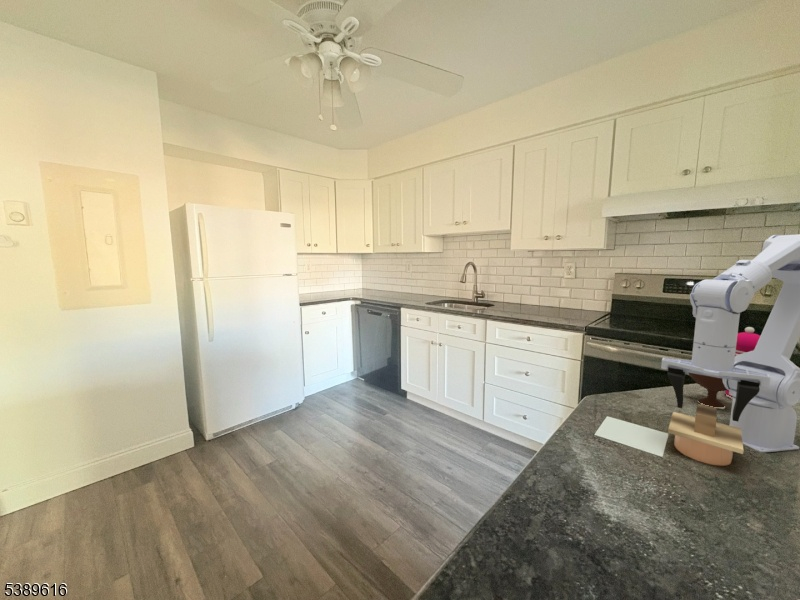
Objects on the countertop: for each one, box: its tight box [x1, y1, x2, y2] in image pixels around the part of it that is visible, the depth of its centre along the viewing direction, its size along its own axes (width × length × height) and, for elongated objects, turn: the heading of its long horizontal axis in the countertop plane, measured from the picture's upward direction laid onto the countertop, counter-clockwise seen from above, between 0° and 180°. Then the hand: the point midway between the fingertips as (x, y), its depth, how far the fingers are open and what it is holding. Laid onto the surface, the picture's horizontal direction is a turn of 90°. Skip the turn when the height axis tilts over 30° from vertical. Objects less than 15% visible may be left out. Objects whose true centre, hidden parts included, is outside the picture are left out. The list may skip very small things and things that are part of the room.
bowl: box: [673, 435, 734, 467], centre depth 63 cm, size 8×8×4 cm
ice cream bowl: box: [688, 373, 727, 407], centre depth 83 cm, size 11×11×15 cm
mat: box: [594, 416, 670, 458], centre depth 70 cm, size 12×12×1 cm
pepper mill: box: [724, 326, 761, 397], centre depth 87 cm, size 7×7×20 cm
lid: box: [667, 403, 745, 455], centre depth 62 cm, size 10×10×4 cm
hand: (706, 412), depth 62 cm, fingers open, 7 cm apart
